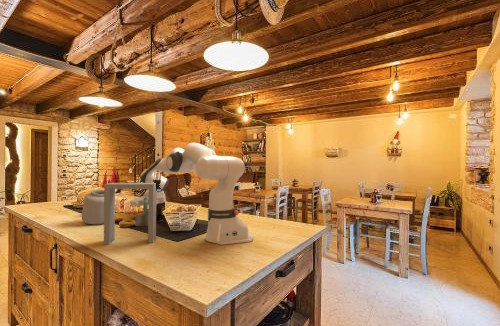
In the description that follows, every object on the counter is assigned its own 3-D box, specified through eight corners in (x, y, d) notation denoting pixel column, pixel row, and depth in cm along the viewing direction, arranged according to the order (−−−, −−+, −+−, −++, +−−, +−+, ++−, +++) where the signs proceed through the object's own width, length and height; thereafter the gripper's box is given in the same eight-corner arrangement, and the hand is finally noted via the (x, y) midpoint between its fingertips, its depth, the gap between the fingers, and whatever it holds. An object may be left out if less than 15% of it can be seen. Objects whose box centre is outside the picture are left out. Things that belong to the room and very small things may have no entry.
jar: (121, 222, 146) (122, 179, 146) (96, 228, 133) (96, 181, 132) (101, 218, 154) (101, 178, 154) (75, 224, 141) (76, 179, 141)
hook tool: (155, 197, 143) (154, 197, 140) (155, 224, 143) (154, 225, 140) (136, 197, 141) (135, 198, 139) (136, 224, 141) (135, 226, 139)
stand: (155, 238, 118) (156, 182, 117) (152, 242, 111) (153, 184, 111) (109, 239, 114) (110, 182, 114) (103, 244, 107) (104, 184, 107)
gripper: (132, 194, 158) (126, 202, 145) (166, 190, 162) (163, 197, 149) (134, 204, 160) (128, 212, 146) (167, 199, 164) (165, 207, 150)
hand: (146, 204), depth 148 cm, fingers open, 8 cm apart
